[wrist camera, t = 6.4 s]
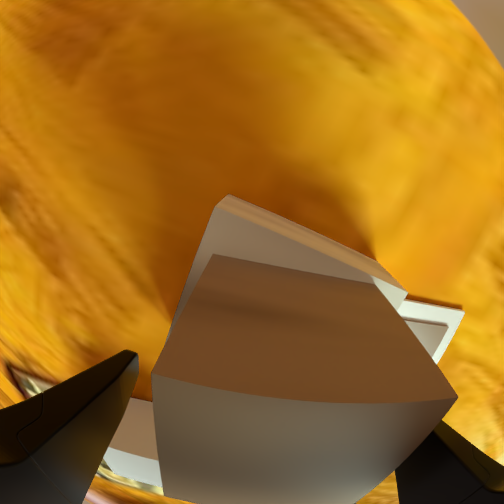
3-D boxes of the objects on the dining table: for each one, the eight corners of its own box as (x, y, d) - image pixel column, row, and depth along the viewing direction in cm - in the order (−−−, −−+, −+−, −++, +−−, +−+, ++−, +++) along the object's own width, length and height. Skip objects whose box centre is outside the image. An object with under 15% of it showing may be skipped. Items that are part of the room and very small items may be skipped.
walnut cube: (325, 397, 12) (347, 509, 6) (196, 379, 11) (164, 495, 6) (375, 284, 10) (458, 397, 4) (212, 253, 10) (150, 373, 4)
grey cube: (188, 442, 19) (176, 490, 14) (132, 430, 19) (114, 473, 14) (180, 406, 17) (162, 461, 13) (117, 393, 17) (92, 441, 13)
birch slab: (303, 371, 16) (311, 421, 12) (177, 326, 15) (156, 372, 12) (374, 259, 14) (408, 292, 10) (229, 193, 13) (214, 206, 9)
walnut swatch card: (415, 390, 16) (418, 395, 16) (333, 388, 16) (335, 393, 16) (462, 309, 14) (466, 313, 14) (378, 293, 14) (382, 297, 13)
